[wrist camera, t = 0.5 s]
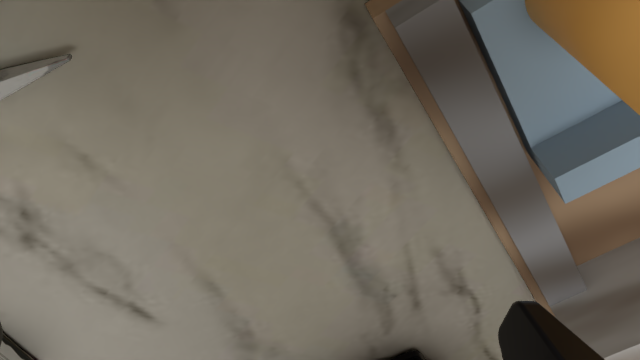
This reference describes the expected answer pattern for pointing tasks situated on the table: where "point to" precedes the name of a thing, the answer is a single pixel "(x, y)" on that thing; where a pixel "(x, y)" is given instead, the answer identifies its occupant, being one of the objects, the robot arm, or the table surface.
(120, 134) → the table surface
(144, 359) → the table surface
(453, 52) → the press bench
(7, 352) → the candy bar box
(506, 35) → the press jaw
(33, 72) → the pliers
